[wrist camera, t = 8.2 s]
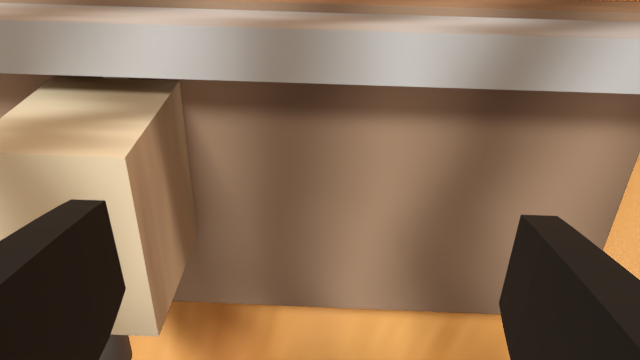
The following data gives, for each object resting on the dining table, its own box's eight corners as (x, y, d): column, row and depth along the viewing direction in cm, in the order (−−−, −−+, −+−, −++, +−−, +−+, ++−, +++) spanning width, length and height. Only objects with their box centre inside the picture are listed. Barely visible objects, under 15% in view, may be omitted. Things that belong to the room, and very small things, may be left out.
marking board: (663, 2, 17) (729, 32, 14) (564, 291, 23) (595, 352, 20) (-37, -19, 17) (-111, 7, 14) (52, 271, 23) (13, 328, 21)
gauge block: (179, 80, 17) (124, 157, 13) (202, 274, 21) (166, 381, 17) (53, 76, 17) (-43, 151, 13) (101, 270, 21) (40, 375, 17)
